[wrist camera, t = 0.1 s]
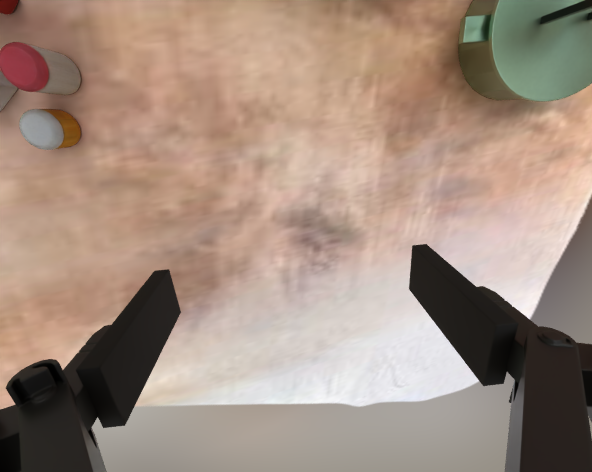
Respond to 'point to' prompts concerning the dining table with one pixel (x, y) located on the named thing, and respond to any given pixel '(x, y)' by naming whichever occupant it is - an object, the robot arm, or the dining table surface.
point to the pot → (480, 52)
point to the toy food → (39, 89)
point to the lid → (542, 47)
